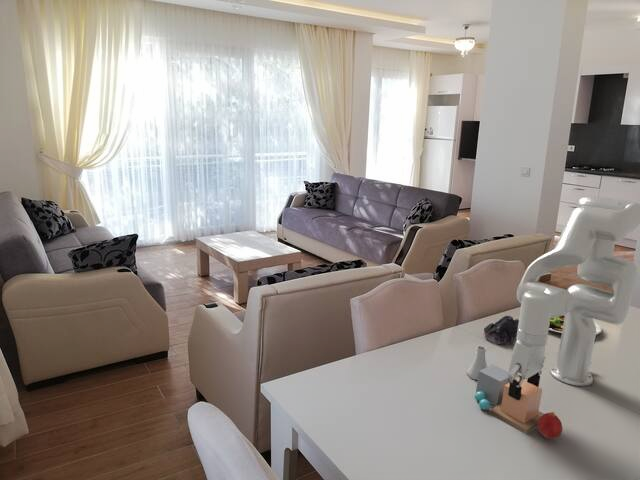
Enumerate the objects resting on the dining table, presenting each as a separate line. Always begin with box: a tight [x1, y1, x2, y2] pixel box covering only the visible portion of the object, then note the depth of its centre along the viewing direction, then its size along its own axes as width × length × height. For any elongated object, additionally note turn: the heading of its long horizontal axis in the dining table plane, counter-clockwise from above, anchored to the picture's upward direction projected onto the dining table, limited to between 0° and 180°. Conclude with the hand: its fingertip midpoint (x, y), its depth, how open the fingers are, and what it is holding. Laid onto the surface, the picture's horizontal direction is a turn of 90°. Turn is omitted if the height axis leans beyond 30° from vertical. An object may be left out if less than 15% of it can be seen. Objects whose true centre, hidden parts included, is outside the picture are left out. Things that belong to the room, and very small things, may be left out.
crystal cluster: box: [483, 315, 519, 346], centre depth 183 cm, size 13×14×10 cm
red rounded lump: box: [537, 411, 563, 440], centre depth 125 cm, size 6×6×8 cm
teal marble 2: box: [478, 399, 491, 411], centre depth 137 cm, size 3×3×3 cm
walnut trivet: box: [489, 403, 545, 435], centre depth 134 cm, size 11×11×1 cm
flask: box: [466, 345, 488, 381], centre depth 154 cm, size 7×7×10 cm
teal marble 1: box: [474, 391, 486, 403], centre depth 141 cm, size 3×3×3 cm
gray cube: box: [475, 364, 509, 407], centre depth 143 cm, size 7×7×8 cm
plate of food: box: [548, 315, 603, 335], centre depth 198 cm, size 28×28×6 cm
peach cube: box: [501, 377, 543, 423], centre depth 133 cm, size 7×7×8 cm
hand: (523, 391), depth 133 cm, fingers open, 9 cm apart
